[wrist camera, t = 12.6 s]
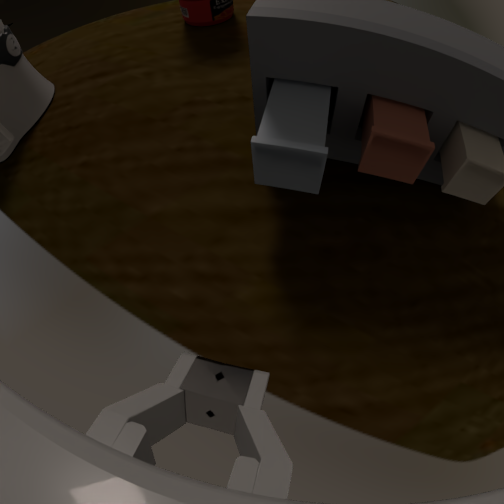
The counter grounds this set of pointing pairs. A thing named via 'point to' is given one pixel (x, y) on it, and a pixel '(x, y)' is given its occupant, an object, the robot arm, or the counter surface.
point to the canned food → (206, 11)
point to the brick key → (394, 139)
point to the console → (378, 67)
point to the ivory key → (472, 163)
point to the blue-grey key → (292, 136)
